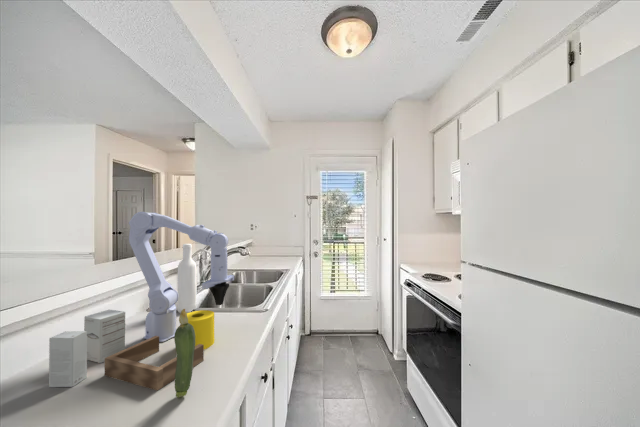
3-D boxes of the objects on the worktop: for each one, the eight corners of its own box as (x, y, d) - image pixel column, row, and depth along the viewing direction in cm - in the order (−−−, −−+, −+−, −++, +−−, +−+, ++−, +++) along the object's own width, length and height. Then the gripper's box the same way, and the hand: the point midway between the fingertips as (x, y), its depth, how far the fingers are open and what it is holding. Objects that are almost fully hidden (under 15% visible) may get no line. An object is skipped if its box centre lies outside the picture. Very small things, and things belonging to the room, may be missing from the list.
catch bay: (104, 375, 70) (104, 358, 70) (155, 350, 84) (155, 335, 84) (157, 390, 64) (157, 371, 64) (203, 360, 77) (203, 344, 77)
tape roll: (184, 339, 91) (184, 311, 91) (216, 336, 94) (216, 309, 94) (176, 353, 81) (176, 322, 82) (212, 349, 84) (212, 319, 84)
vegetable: (179, 389, 64) (179, 304, 65) (198, 388, 64) (198, 304, 65) (170, 401, 60) (170, 310, 60) (190, 400, 60) (190, 310, 61)
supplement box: (82, 359, 79) (83, 316, 79) (109, 348, 86) (110, 308, 86) (99, 364, 76) (99, 319, 76) (126, 352, 83) (126, 310, 83)
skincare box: (87, 377, 70) (88, 330, 70) (72, 387, 65) (72, 337, 66) (64, 377, 70) (65, 330, 70) (47, 387, 65) (48, 338, 66)
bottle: (174, 310, 121) (174, 244, 122) (192, 306, 127) (192, 243, 128) (181, 314, 116) (181, 245, 117) (199, 309, 122) (199, 243, 123)
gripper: (213, 270, 89) (213, 312, 89) (240, 264, 103) (241, 299, 103) (197, 269, 92) (197, 309, 91) (225, 263, 105) (225, 298, 105)
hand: (219, 304), depth 97 cm, fingers closed
